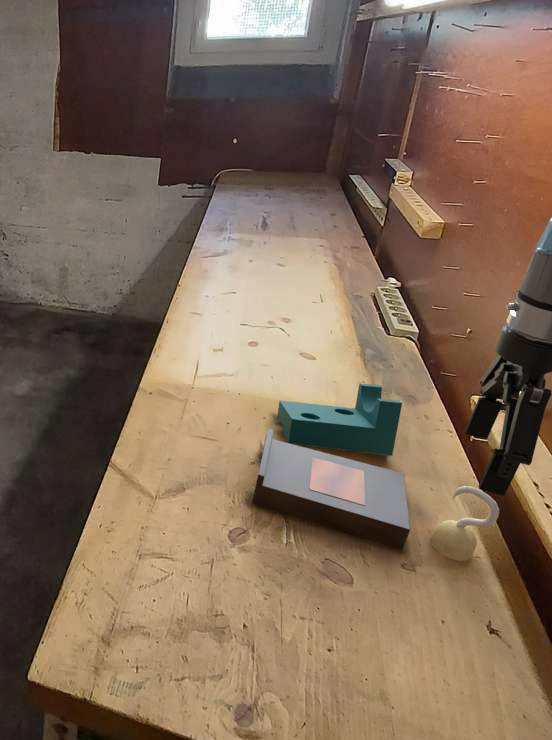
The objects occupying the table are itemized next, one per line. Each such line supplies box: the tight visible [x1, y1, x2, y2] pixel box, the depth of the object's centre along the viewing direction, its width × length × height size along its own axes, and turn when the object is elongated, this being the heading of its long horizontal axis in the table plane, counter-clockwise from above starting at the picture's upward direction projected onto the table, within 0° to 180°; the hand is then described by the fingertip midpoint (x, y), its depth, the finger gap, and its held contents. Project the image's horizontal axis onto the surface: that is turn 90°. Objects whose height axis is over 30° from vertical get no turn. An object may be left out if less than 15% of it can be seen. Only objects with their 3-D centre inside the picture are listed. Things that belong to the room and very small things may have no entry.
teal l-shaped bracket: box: [276, 383, 403, 457], centre depth 111 cm, size 18×11×10 cm, turn 76°
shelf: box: [251, 428, 411, 551], centre depth 96 cm, size 22×14×6 cm, turn 61°
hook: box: [430, 485, 500, 562], centre depth 85 cm, size 6×5×12 cm
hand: (482, 461), depth 82 cm, fingers open, 13 cm apart
